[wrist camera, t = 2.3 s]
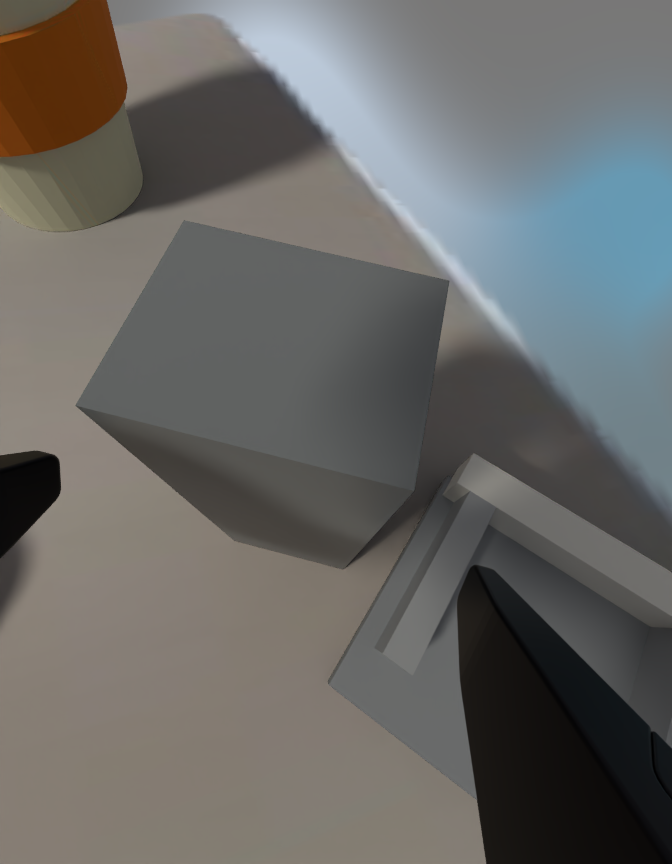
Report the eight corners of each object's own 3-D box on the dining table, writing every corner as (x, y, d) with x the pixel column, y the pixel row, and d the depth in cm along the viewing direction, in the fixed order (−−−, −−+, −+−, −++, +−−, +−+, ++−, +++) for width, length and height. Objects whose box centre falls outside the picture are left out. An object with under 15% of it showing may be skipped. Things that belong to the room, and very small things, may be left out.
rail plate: (619, 906, 13) (691, 977, 11) (327, 681, 16) (331, 695, 13) (690, 620, 17) (755, 622, 15) (448, 470, 19) (469, 450, 17)
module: (343, 569, 17) (414, 491, 5) (234, 540, 18) (75, 405, 6) (363, 479, 19) (451, 271, 7) (263, 454, 19) (189, 211, 7)
